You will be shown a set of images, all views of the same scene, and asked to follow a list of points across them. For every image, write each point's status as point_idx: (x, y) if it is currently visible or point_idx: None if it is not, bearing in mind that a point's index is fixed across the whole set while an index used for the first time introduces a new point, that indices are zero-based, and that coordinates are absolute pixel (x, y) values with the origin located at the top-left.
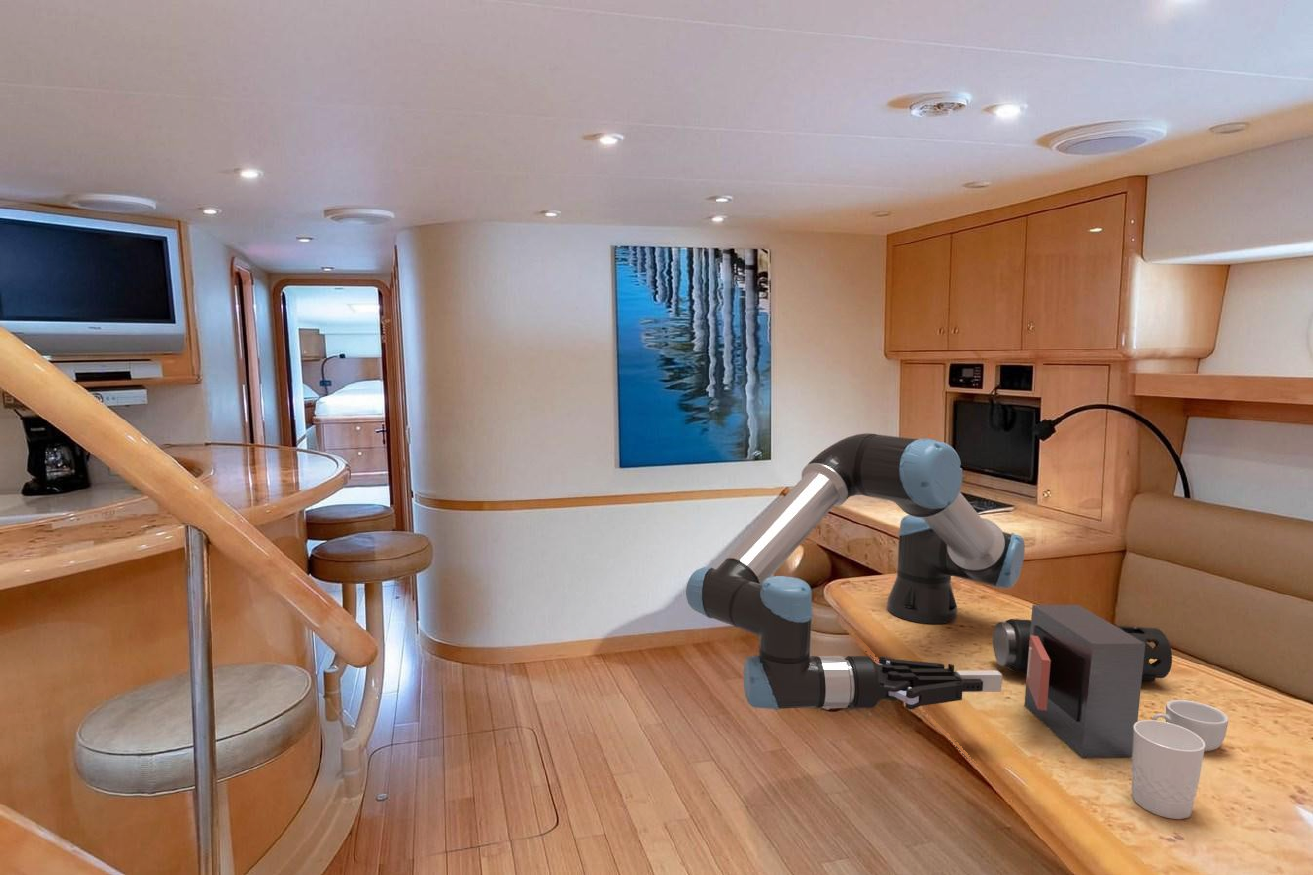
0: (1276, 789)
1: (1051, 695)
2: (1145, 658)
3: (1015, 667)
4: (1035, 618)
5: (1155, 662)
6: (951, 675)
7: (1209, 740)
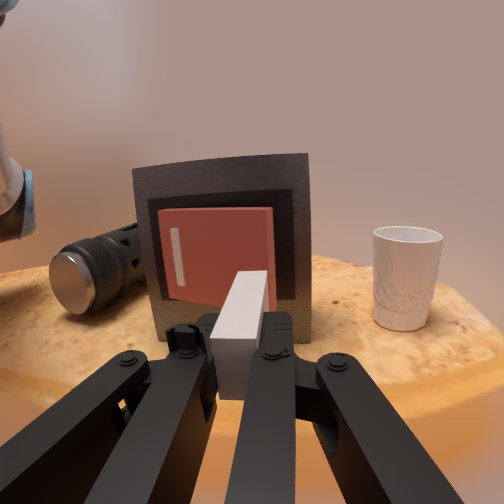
0: (347, 267)
1: None
2: None
3: (98, 304)
4: (144, 187)
5: None
6: (209, 368)
7: None
